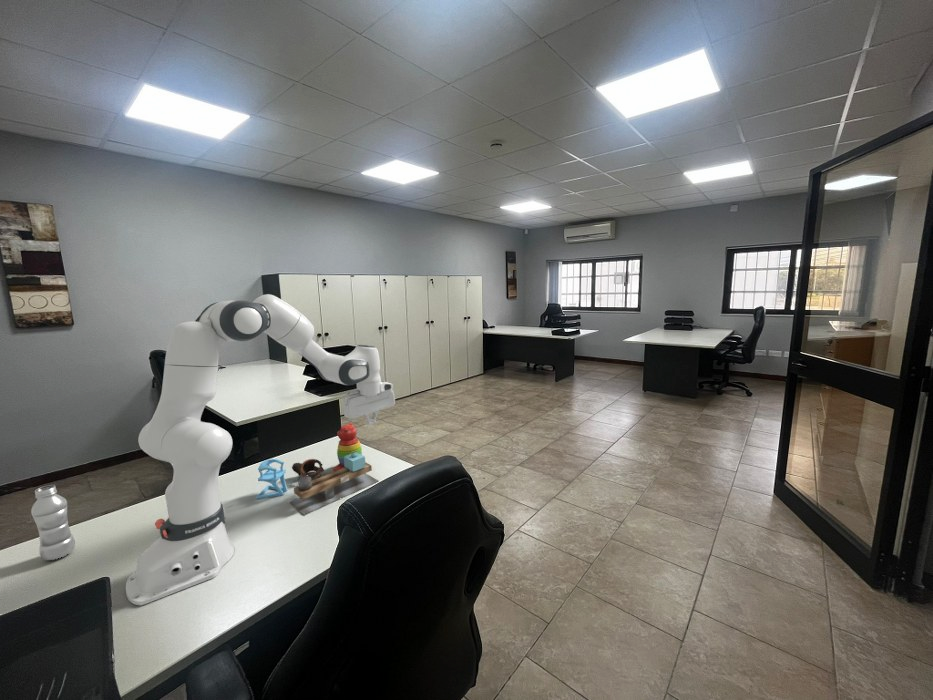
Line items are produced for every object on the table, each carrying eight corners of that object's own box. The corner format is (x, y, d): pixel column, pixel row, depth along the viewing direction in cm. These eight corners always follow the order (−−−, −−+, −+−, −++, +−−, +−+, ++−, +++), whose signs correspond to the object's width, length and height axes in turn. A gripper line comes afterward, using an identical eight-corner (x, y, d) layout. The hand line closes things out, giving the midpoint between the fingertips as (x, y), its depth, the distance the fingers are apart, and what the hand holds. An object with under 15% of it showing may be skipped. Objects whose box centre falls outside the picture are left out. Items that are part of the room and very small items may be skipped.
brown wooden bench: (303, 515, 120) (301, 489, 118) (289, 502, 127) (286, 477, 126) (378, 481, 140) (377, 458, 139) (362, 472, 147) (360, 450, 146)
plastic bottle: (50, 551, 105) (35, 485, 102) (82, 545, 108) (68, 480, 104) (35, 567, 99) (19, 497, 96) (69, 559, 102) (54, 491, 98)
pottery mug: (327, 471, 150) (327, 458, 145) (318, 492, 142) (318, 479, 138) (296, 465, 149) (295, 452, 144) (285, 486, 141) (284, 473, 136)
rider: (353, 477, 135) (352, 458, 134) (345, 472, 139) (343, 453, 138) (365, 472, 139) (364, 454, 137) (357, 467, 143) (355, 449, 141)
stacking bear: (345, 460, 158) (342, 419, 155) (367, 462, 156) (364, 421, 153) (331, 472, 148) (327, 429, 145) (354, 474, 146) (351, 431, 143)
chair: (280, 499, 130) (277, 466, 128) (256, 499, 130) (252, 466, 128) (290, 487, 137) (288, 456, 135) (268, 487, 137) (265, 456, 135)
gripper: (348, 395, 130) (351, 433, 132) (396, 383, 145) (398, 418, 147) (339, 392, 134) (341, 429, 136) (386, 381, 149) (388, 414, 151)
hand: (371, 423), depth 142 cm, fingers closed
